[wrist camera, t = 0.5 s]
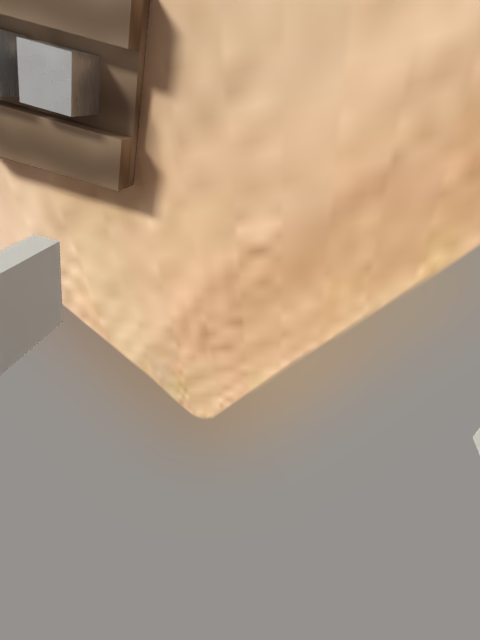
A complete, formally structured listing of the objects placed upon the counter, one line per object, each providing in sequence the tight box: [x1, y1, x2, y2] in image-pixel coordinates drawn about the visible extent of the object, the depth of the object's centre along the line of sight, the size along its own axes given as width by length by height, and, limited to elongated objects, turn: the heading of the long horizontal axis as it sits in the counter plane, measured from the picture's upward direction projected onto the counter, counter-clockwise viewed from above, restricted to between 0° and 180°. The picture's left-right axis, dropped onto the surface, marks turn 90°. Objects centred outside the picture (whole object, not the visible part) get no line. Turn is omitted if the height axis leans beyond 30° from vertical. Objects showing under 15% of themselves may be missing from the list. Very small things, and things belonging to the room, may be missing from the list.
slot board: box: [0, 0, 150, 191], centre depth 31 cm, size 14×14×3 cm
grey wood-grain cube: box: [16, 37, 101, 117], centre depth 30 cm, size 4×4×4 cm
